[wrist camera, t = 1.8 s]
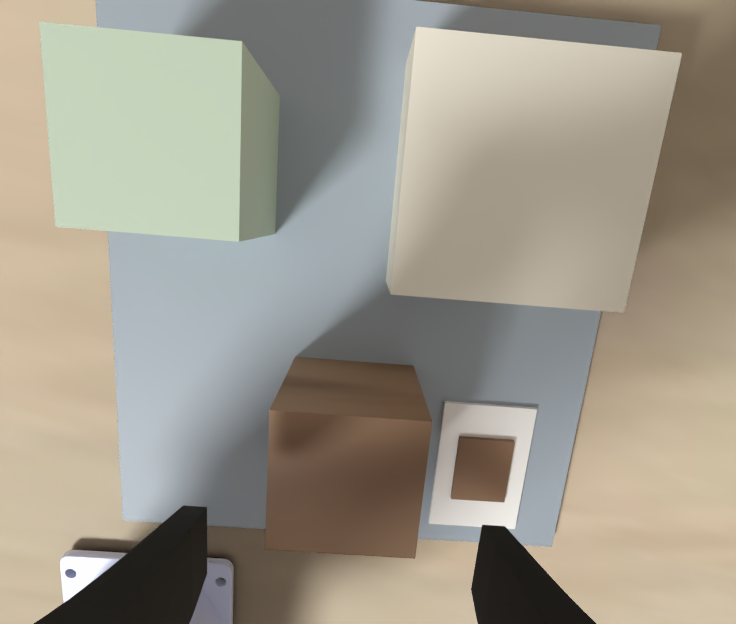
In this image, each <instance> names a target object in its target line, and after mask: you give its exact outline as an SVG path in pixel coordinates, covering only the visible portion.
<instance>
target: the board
mask: <svg viewBox="0 0 736 624" xmlns="http://www.w3.org/2000/svg"><path fill="white" fill-rule="evenodd" d="M96 15H97V27H100V28H111V29H121V30H131V31H142V32H152V33H162V34H172V35H183V36H193V37H203V38H214V39H224V40H234V41H242V42H243V43H244V45H245V46H246V48H247V49H248V51H249V52H250V53H251V55H252V56H253V58H254V59H255V61H256V62H257V64H258V65H259V66H260V68H261V69H262V71H263V72H264V74H265V75H266V77H267V78H268V79H269V81H270V82H271V84H272V85H273V87H274V88H275V90H276V91H277V92H278V94H279V95H280V109H279V139H278V168H277V198H276V227H275V234H273V235H268V236H264V237H259V238H254V239H250V240H245V241H240V242H236V241H223V240H211V239H199V238H187V237H175V236H163V235H151V234H139V233H126V232H114V231H108V244H109V263H110V282H111V301H112V321H113V340H114V359H115V378H116V397H117V416H118V435H119V454H120V473H121V492H122V511H123V520H126V521H142V522H159V523H163V522H164V521H166V520H167V519H168V518H169V517H170V516H171V515H172V514H174V513H175V512H176V511H177V510H178V509H180V508H181V507H182V506H183V505H185V506H200V507H207V526H223V527H239V528H255V529H266V499H267V470H268V440H269V411H270V408H271V406H272V404H273V402H274V400H275V398H276V396H277V393H278V391H279V389H280V387H281V385H282V383H283V381H284V379H285V377H286V375H287V373H288V370H289V368H290V366H291V364H292V362H293V360H294V358H295V357H306V358H319V359H333V360H346V361H360V362H373V363H386V364H400V365H413V366H414V369H415V372H416V375H417V377H418V380H419V383H420V386H421V389H422V392H423V395H424V398H425V401H426V404H427V407H428V410H429V413H430V416H431V419H432V429H431V437H430V445H429V453H428V461H427V469H426V476H425V484H424V492H423V500H422V508H421V516H420V524H419V531H418V539H433V540H449V541H465V542H479V540H480V534H481V528H482V525H494V526H505V527H506V528H507V529H508V530H509V531H510V532H511V533H512V534H513V536H514V537H515V538H516V539H517V540H518V541H519V542H520V543H521V545H530V546H546V547H552V544H553V539H554V534H555V529H556V525H557V520H558V515H559V510H560V506H561V501H562V496H563V491H564V487H565V482H566V477H567V472H568V468H569V463H570V458H571V453H572V449H573V444H574V439H575V434H576V430H577V425H578V420H579V415H580V411H581V406H582V401H583V396H584V392H585V387H586V382H587V377H588V373H589V368H590V363H591V358H592V354H593V349H594V344H595V339H596V335H597V330H598V325H599V320H600V316H601V311H592V310H579V309H567V308H554V307H541V306H529V305H516V304H504V303H491V302H479V301H466V300H453V299H441V298H428V297H416V296H403V295H391V294H390V291H389V289H388V286H387V283H386V273H387V262H388V252H389V241H390V230H391V220H392V209H393V198H394V187H395V177H396V166H397V155H398V144H399V134H400V123H401V112H402V101H403V91H404V80H405V69H406V61H407V58H408V54H409V51H410V47H411V44H412V40H413V37H414V33H415V30H416V27H425V28H436V29H446V30H456V31H466V32H476V33H486V34H496V35H506V36H516V37H526V38H536V39H546V40H557V41H567V42H577V43H587V44H597V45H607V46H617V47H627V48H637V49H647V50H656V49H657V45H658V40H659V35H660V30H661V26H662V25H655V24H645V23H635V22H625V21H615V20H605V19H595V18H585V17H576V16H566V15H556V14H546V13H536V12H526V11H516V10H506V9H496V8H486V7H477V6H467V5H457V4H447V3H437V2H427V1H417V0H96Z"/></svg>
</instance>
